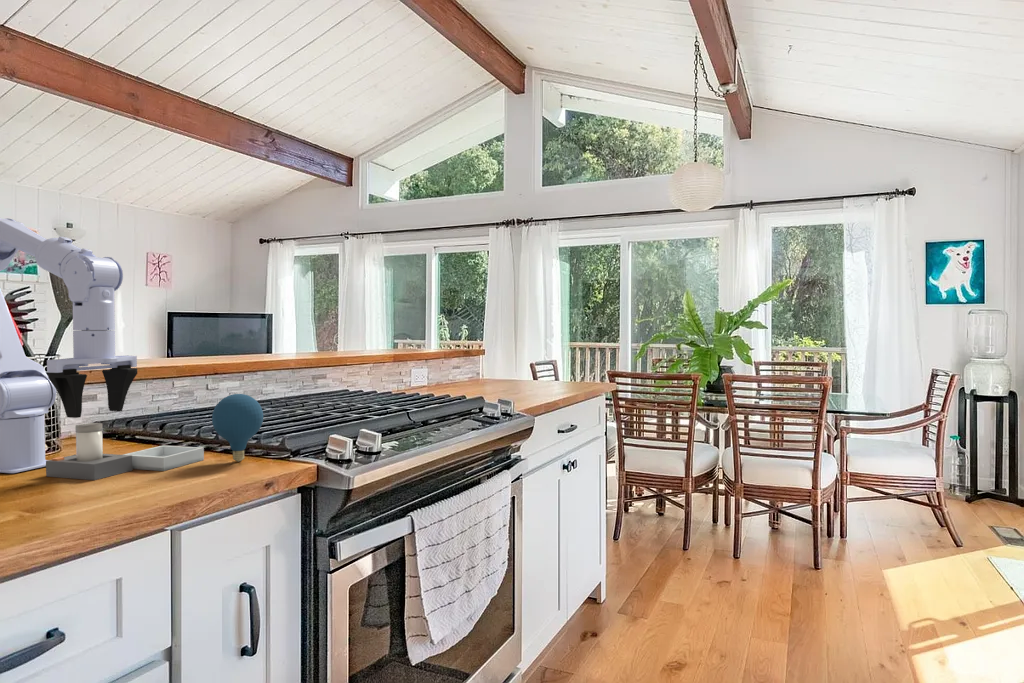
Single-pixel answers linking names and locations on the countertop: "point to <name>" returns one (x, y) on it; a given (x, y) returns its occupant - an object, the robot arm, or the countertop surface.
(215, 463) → the countertop surface
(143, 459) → the parts tray
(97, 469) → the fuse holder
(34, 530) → the countertop surface
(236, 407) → the light bulb
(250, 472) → the countertop surface
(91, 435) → the cylinder
